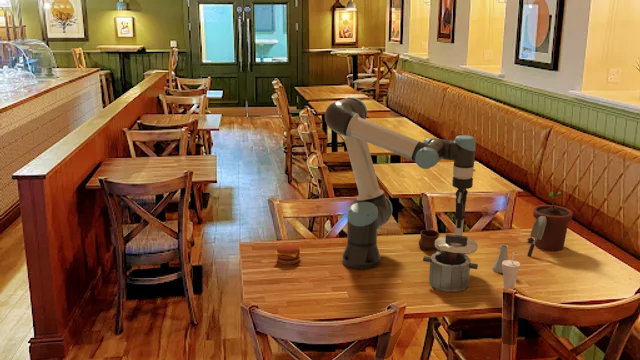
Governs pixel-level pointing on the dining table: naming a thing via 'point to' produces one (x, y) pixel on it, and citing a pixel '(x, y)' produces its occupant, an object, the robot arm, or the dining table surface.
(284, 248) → the hamburger
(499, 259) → the flask
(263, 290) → the dining table surface
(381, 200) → the robot arm
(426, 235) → the ceramic pot
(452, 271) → the pot
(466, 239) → the lid
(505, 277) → the smoothie
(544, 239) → the potted plant
